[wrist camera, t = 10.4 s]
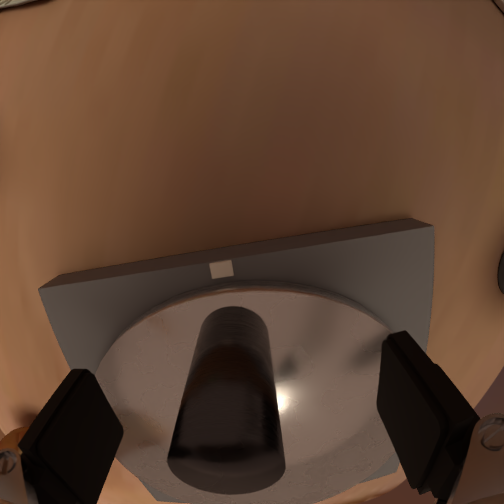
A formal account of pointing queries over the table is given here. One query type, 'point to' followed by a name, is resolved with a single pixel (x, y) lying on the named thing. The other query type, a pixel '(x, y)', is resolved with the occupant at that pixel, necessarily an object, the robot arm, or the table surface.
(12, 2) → the avocado toast plate
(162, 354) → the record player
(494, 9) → the table surface
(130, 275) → the instrument base
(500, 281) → the sundae
